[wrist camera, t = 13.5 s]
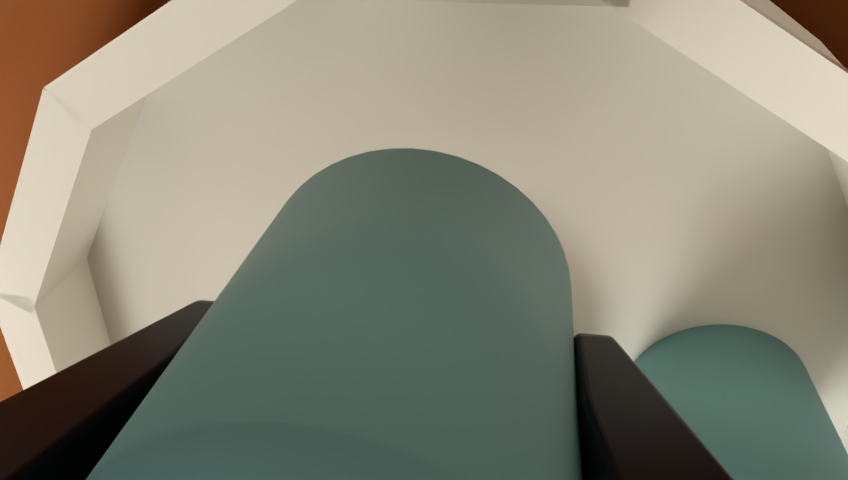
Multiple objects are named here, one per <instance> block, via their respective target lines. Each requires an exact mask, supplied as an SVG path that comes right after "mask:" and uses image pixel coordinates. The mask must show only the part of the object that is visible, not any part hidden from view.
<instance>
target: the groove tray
mask: <svg viewBox="0 0 848 480" xmlns="http://www.w3.org/2000/svg"><path fill="white" fill-rule="evenodd" d="M390 148H415V149H423V150H432V151H438V152H442V153H446V154H450V155H454V156H458V157H460V158H463V159H466V160H468V161H471V162H474V163H476V164H479V165H481V166H483V167H485V168H486V169H488V170H490V171H492V172H494V173H496V174H498V175H499V176H501V177H502V178H504V179H505V180H507V181H508V182H510V183H511V184H512V185H514V186H515V187H517V188H518V189H519V190H520V191H521V192H522V193H523V194H524V195H525V196H527V197H528V198H529V199H530V200H531V201H532V202H533V203H534V204H535V206H536V207H537V208H538V209H539V210H540V211H541V213H542V214H543V215H544V216H545V217H546V219H547V220H548V222H549V224H550V225H551V227H552V228H553V230H554V231H555V233H556V235H557V237H558V239H559V241H560V244H561V246H562V248H563V250H564V253H565V257H566V260H567V264H568V267H569V272H570V281H571V291H572V308H573V326H574V337H575V336H576V335H577V334H578V333H586V334H598V335H608V336H611V337H613V338H614V339H615V340H616V341H617V342H618V343H619V345H620V346H621V347H622V348H623V349H624V351H625V352H626V353H627V354H628V355H629V356H630V358H631V359H632V360H633V361H634V362H635V360H636V359H637V358H638V357H639V356H640V355H641V354H642V353H643V352H644V351H645V350H646V349H648V348H649V347H650V346H652V345H653V344H655V343H656V342H657V341H659V340H661V339H663V338H665V337H667V336H669V335H671V334H674V333H676V332H679V331H682V330H685V329H689V328H693V327H698V326H704V325H716V324H725V325H738V326H745V327H749V328H753V329H757V330H760V331H763V332H765V333H768V334H770V335H772V336H774V337H776V338H778V339H779V340H781V341H782V342H784V343H785V344H787V345H788V346H789V347H790V348H791V349H792V350H793V351H794V352H796V354H797V355H798V356H799V358H800V359H801V360H802V362H803V364H804V366H805V367H806V369H807V371H808V373H809V375H810V378H811V380H812V382H813V384H814V386H815V388H816V390H817V392H818V394H819V396H820V398H821V400H822V402H823V404H824V406H825V408H826V410H827V412H828V414H829V417H830V419H831V421H832V423H833V425H834V427H835V429H836V431H837V433H838V435H839V437H840V439H841V441H842V443H843V445H844V447H845V449H846V451H847V454H848V69H847V68H845V67H844V66H843V65H842V64H841V63H840V62H839V61H838V60H837V59H836V58H835V57H834V55H833V54H832V53H831V52H830V51H829V50H828V49H827V48H826V46H825V45H824V44H823V43H822V42H821V41H820V40H819V39H817V38H816V37H815V36H814V35H812V34H811V33H810V32H809V31H807V30H806V29H805V28H804V27H802V26H801V25H800V24H799V23H797V22H796V21H795V20H794V19H792V18H791V17H790V16H789V15H787V14H786V13H785V12H784V11H782V10H781V9H780V8H779V7H777V6H776V5H775V4H774V3H773V2H771V1H770V0H171V1H169V2H168V3H166V4H165V5H164V6H162V7H161V8H159V9H158V10H156V11H155V12H153V13H152V14H150V15H149V16H147V17H146V18H145V19H143V20H142V21H140V22H139V23H137V24H136V25H134V26H133V27H131V28H130V29H128V30H127V31H126V32H124V33H123V34H121V35H120V36H118V37H117V38H115V39H114V40H112V41H111V42H110V43H108V44H107V45H105V46H104V47H102V48H101V49H99V50H98V51H96V52H95V53H93V54H92V55H91V56H89V57H88V58H86V59H85V60H83V61H82V62H80V63H79V64H77V65H76V66H74V67H73V68H72V69H70V70H69V71H67V72H66V73H64V74H63V75H61V76H60V77H58V78H57V79H55V80H54V81H53V82H51V83H50V84H48V85H47V86H45V87H44V89H43V91H42V94H41V98H40V102H39V105H38V109H37V113H36V116H35V120H34V124H33V127H32V131H31V135H30V138H29V142H28V146H27V149H26V153H25V157H24V160H23V164H22V168H21V171H20V175H19V179H18V182H17V186H16V190H15V193H14V197H13V201H12V204H11V208H10V212H9V215H8V219H7V223H6V226H5V230H4V234H3V237H2V241H1V245H0V327H1V330H2V333H3V335H4V338H5V341H6V344H7V346H8V349H9V352H10V354H11V357H12V360H13V363H14V365H15V368H16V371H17V373H18V376H19V379H20V381H21V384H22V387H23V390H25V389H27V388H28V387H30V386H32V385H34V384H36V383H38V382H40V381H42V380H44V379H46V378H48V377H50V376H52V375H54V374H56V373H57V372H59V371H61V370H63V369H65V368H67V367H69V366H71V365H73V364H75V363H77V362H79V361H81V360H83V359H85V358H87V357H88V356H90V355H92V354H94V353H96V352H98V351H100V350H102V349H104V348H106V347H108V346H110V345H112V344H114V343H116V342H117V341H119V340H121V339H123V338H125V337H127V336H129V335H131V334H133V333H135V332H137V331H139V330H141V329H143V328H145V327H146V326H148V325H150V324H152V323H154V322H156V321H158V320H160V319H162V318H164V317H166V316H168V315H170V314H172V313H174V312H176V311H177V310H179V309H181V308H183V307H185V306H187V305H189V304H191V303H193V302H195V301H198V300H208V301H215V300H216V299H217V297H218V296H219V294H220V293H221V292H222V290H223V289H224V288H225V286H226V285H227V283H228V282H229V281H230V279H231V278H232V276H233V275H234V274H235V272H236V271H237V270H238V268H239V267H240V265H241V264H242V263H243V261H244V260H245V258H246V257H247V256H248V254H249V253H250V252H251V250H252V249H253V247H254V246H255V245H256V243H257V242H258V240H259V239H260V238H261V236H262V235H263V234H264V232H265V231H266V229H267V228H268V227H269V225H270V224H271V222H272V221H273V220H274V218H275V217H276V216H277V214H278V213H279V211H280V210H281V209H282V207H283V206H284V204H285V203H286V202H287V200H288V199H289V198H290V197H291V196H292V195H293V193H294V192H295V191H296V190H297V189H298V188H299V187H300V186H301V185H302V184H303V183H305V182H306V181H307V180H308V179H309V178H311V177H312V176H313V175H314V174H316V173H318V172H319V171H321V170H323V169H324V168H326V167H328V166H329V165H331V164H333V163H336V162H338V161H340V160H343V159H345V158H347V157H350V156H354V155H358V154H361V153H365V152H369V151H375V150H383V149H390Z"/></svg>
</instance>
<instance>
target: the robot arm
mask: <svg viewBox="0 0 848 480" xmlns="http://www.w3.org/2000/svg"><path fill="white" fill-rule="evenodd" d="M213 303H214V301H208V300H198V301H195V302H193V303H191V304H189V305H187V306H185V307H183V308H181V309H179V310H177V311H176V312H174V313H172V314H170V315H168V316H166V317H164V318H162V319H160V320H158V321H156V322H154V323H152V324H150V325H148V326H146V327H145V328H143V329H141V330H139V331H137V332H135V333H133V334H131V335H129V336H127V337H125V338H123V339H121V340H119V341H117V342H116V343H114V344H112V345H110V346H108V347H106V348H104V349H102V350H100V351H98V352H96V353H94V354H92V355H90V356H88V357H87V358H85V359H83V360H81V361H79V362H77V363H75V364H73V365H71V366H69V367H67V368H65V369H63V370H61V371H59V372H57V373H56V374H54V375H52V376H50V377H48V378H46V379H44V380H42V381H40V382H38V383H36V384H34V385H32V386H30V387H28V388H27V389H25V390H23V391H21V392H19V393H17V394H15V395H13V396H11V397H9V398H7V399H5V400H3V401H1V402H0V480H86V479H87V477H88V476H89V474H90V473H91V472H92V470H93V469H94V467H95V466H96V465H97V463H98V462H99V461H100V459H101V458H102V456H103V455H104V454H105V452H106V451H107V449H108V448H109V447H110V445H111V444H112V443H113V441H114V440H115V438H116V437H117V436H118V434H119V433H120V431H121V430H122V429H123V427H124V426H125V425H126V423H127V422H128V420H129V419H130V418H131V416H132V415H133V413H134V412H135V411H136V409H137V408H138V407H139V405H140V404H141V402H142V401H143V400H144V398H145V397H146V395H147V394H148V393H149V391H150V390H151V389H152V387H153V386H154V384H155V383H156V382H157V380H158V379H159V377H160V376H161V375H162V373H163V372H164V371H165V369H166V368H167V366H168V365H169V364H170V362H171V361H172V359H173V358H174V357H175V355H176V354H177V353H178V351H179V350H180V348H181V347H182V346H183V344H184V343H185V341H186V340H187V339H188V337H189V336H190V335H191V333H192V332H193V330H194V329H195V328H196V326H197V325H198V323H199V322H200V321H201V319H202V318H203V317H204V315H205V314H206V312H207V311H208V310H209V308H210V307H211V306H212V304H213ZM574 351H575V369H576V386H577V404H578V420H579V435H580V448H581V466H582V480H734V479H733V478H732V476H731V475H730V474H729V473H728V472H727V471H726V469H725V468H724V467H723V466H722V465H721V464H720V462H719V461H718V460H717V459H716V458H715V456H714V455H713V454H712V453H711V452H710V451H709V449H708V448H707V447H706V446H705V445H704V444H703V442H702V441H701V440H700V439H699V438H698V436H697V435H696V434H695V433H694V432H693V431H692V429H691V428H690V427H689V426H688V425H687V424H686V422H685V421H684V420H683V419H682V418H681V416H680V415H679V414H678V413H677V412H676V411H675V409H674V408H673V407H672V406H671V405H670V404H669V402H668V401H667V400H666V399H665V398H664V396H663V395H662V394H661V393H660V392H659V391H658V389H657V388H656V387H655V386H654V385H653V384H652V382H651V381H650V380H649V379H648V378H647V376H646V375H645V374H644V373H643V372H642V371H641V369H640V368H639V367H638V366H637V365H636V363H635V362H634V361H633V360H632V359H631V358H630V356H629V355H628V354H627V353H626V352H625V351H624V349H623V348H622V347H621V346H620V345H619V343H618V342H617V341H616V340H615V339H614V338H613V337H611V336H608V335H598V334H586V333H578V334H577V335H576V336H575V337H574Z"/></svg>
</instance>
